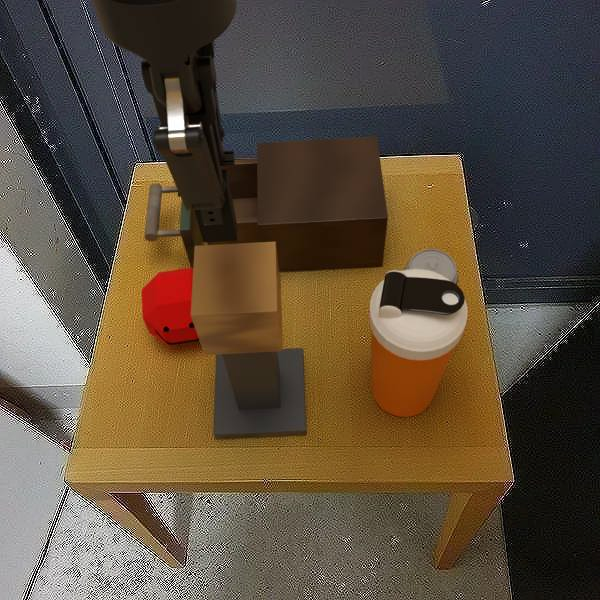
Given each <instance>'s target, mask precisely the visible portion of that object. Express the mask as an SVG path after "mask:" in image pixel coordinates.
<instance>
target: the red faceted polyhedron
mask: <svg viewBox="0 0 600 600" xmlns="http://www.w3.org/2000/svg"><path fill="white" fill-rule="evenodd" d="M192 284H193V268H191V267H187V268H186V267H185V268H179V269H172V270H165V271H158V272H157V273H156V275H154V277H153V278H151V279H150V280H149V282H148V283H147V284H145V286H144V287H143V288H141V311H142V312H141V313H142V315H141V316H142V320H143V322H144V324H145V327H146V329H147V331H148V334H150V335H152V337H154V338H156V339H157V340H159V341H160V342H162V343H163V344H165V345H166V346H168V347H170V346H171V347H172V346H174V345H175V346H176V345H182V344H188V343H194V342H200V341H199V338H198V335H197V332H196V329H195V326H194V323H193V320H192V318H191V302H192Z"/></svg>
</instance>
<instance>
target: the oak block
mask: <svg viewBox="0 0 600 600" xmlns="http://www.w3.org/2000/svg"><path fill="white" fill-rule="evenodd" d="M280 273H281V272H279V265H278V257H277V249H276V242H259V243H240V244H222V245H208V244H205V245H204V244H202V246H195V249H194V266H193V284H192V302H191V318H192V320H193V323H194V326H195V329H196V332H197V335H198V338H199V341H198V342H199V344H200V346H201V349H202V352H203V354H204V356H216V355H218V354H238V353H257V352H277V351H283V349H284V348H283V311H282V307H283V306H282V282H281V274H280Z"/></svg>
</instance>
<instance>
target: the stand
mask: <svg viewBox="0 0 600 600" xmlns="http://www.w3.org/2000/svg"><path fill="white" fill-rule="evenodd" d="M304 359H305V358H304V348H303V347H296V348H295V347H294V348H293V347H292V348H283V351H277V352H257V353H238V354H218V355H215V372H214V373H215V374H214V400H213V401H214V403H213V437H214V439H215V440H235V439H255V438H273V437H274V438H275V437H277V438H278V437H291V436H292V437H297V436H307V408H306V388H305V387H306V386H305V383H306V382H305V364H304V363H305V362H304Z"/></svg>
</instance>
